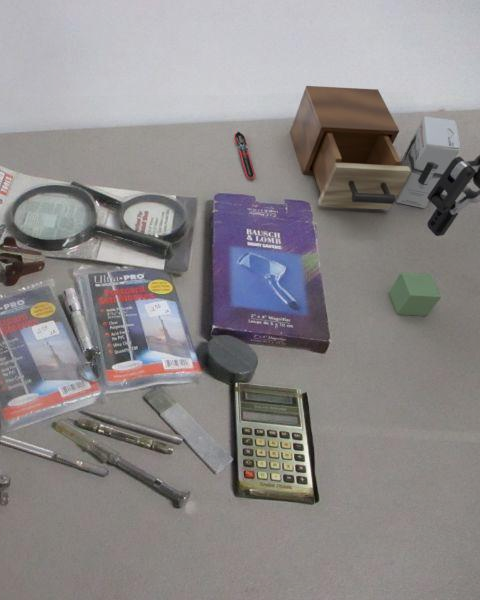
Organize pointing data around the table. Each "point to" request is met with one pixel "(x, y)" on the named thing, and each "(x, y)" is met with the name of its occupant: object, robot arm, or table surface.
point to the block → (414, 294)
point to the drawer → (358, 170)
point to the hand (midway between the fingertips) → (463, 225)
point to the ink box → (428, 159)
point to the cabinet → (337, 118)
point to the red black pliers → (244, 155)
